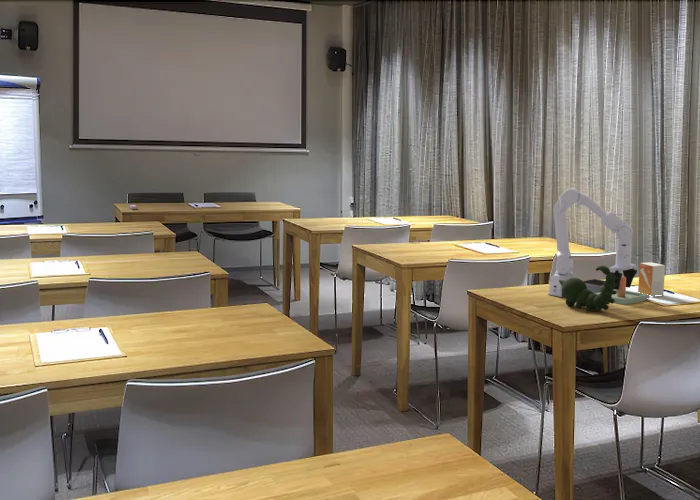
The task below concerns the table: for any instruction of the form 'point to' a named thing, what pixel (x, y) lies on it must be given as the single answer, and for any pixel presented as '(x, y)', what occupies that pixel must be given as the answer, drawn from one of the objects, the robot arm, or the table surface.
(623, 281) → the dowel
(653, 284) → the small box
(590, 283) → the grey square bin
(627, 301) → the tray
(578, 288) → the toy figurine
